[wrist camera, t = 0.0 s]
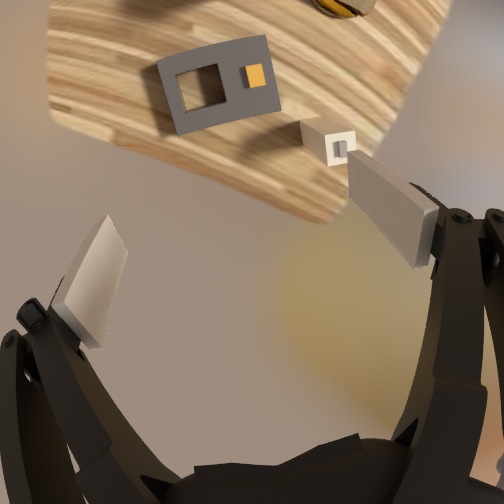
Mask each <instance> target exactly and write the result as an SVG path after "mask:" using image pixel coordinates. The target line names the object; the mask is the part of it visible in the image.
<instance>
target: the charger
mask: <svg viewBox="0 0 504 504" xmlns="http://www.w3.org/2000/svg"><path fill="white" fill-rule="evenodd" d="M299 122H300V128H301V135H302V141H303V146H305V147H306V148H307V149H308V150H309V151H311V152H312V153H313V154H314V155H315V156H316V157H318V158H319V159H320V160H321V161H322V162H323V163H325V164H326V165H327V166H333V165H338V164H343V163H347V151H354V150H356V139H355V131H354V130H352V129H350V128H348V127H346V126H344V125H342V124H340V123H337V122H335V121H333V120H331V119H329V118H326V117H318V118H312V119H305V120H299Z"/></svg>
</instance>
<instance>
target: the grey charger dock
mask: <svg viewBox="0 0 504 504" xmlns="http://www.w3.org/2000/svg"><path fill="white" fill-rule="evenodd" d="M156 63H157V66H158V70H159V73H160V77H161V80H162V84H163V87H164V91H165V94H166V98H167V101H168V104H169V108H170V111H171V114H172V118H173V121H174V124H175V127H176V131H177V134H178V136H181V135H184V134H187V133H190V132H194V131H197V130H201V129H204V128H208V127H212V126H215V125H219V124H223V123H227V122H231V121H235V120H239V119H244V118H248V117H253V116H257V115H262V114H267V113H272V112H277V111H282V110H281V105H280V100H279V95H278V90H277V85H276V80H275V75H274V71H273V66H272V61H271V57H270V52H269V48H268V44H267V39H266V35H259V36H253V37H247V38H241V39H236V40H231V41H226V42H221V43H217V44H213V45H208V46H204V47H200V48H197V49H193V50H189V51H186V52H182V53H179V54H176V55H173V56H169V57H166V58H163V59H160V60H157V61H156ZM215 64H217V66H218V70H219V74H220V78H221V82H222V86H223V90H224V94H225V98H226V101H222V102H218V103H214V104H210V105H206V106H203V107H199V108H196V109H192V110H189V111H187V110H186V107H185V103H184V100H183V96H182V93H181V89H180V85H179V82H178V78H177V75H179V74H182V73H185V72H189V71H192V70H196V69H199V68H203V67H207V66H211V65H215Z"/></svg>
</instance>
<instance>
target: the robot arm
mask: <svg viewBox="0 0 504 504" xmlns="http://www.w3.org/2000/svg"><path fill="white" fill-rule="evenodd" d="M347 163H348V180H349V197H350V198H351V199H352V200H353V201H354V202H355V203H356V204H357V206H358V207H359V208H360V209H361V210H362V211H363V212H364V213H365V214H366V215H367V216H368V217H369V218H370V219H371V220H372V222H373V223H374V224H375V225H376V226H377V227H378V228H379V229H380V230H381V232H382V233H383V234H384V235H385V236H386V237H387V238H388V240H389V241H390V242H391V243H392V244H393V245H394V247H395V248H396V249H397V250H398V251H399V253H400V254H401V255H402V256H403V257H404V259H405V260H406V261H407V262H408V263H409V265H410V266H411V267H412V268H413V270H415V269H418V268H421V267H423V266H426V265H428V262H429V257H430V253H431V254H432V255H433V256H434V257H435V258H436V260H435V264H434V268H433V271H432V275H431V278H430V279H431V280H433V281H432V289H431V297H430V304H429V311H428V317H427V323H426V328H425V333H424V338H423V343H422V348H421V352H420V357H419V361H418V365H417V369H416V373H415V376H414V380H413V384H412V387H411V391H410V394H409V397H408V400H407V403H406V406H405V409H404V412H403V414H402V417H401V418H400V420H399V422H398V424H397V426H396V429H395V431H394V433H393V436H392V438H391V440H390V441H389V440H385V439H377V438H370V439H369V438H366V439H360V437H359V434H358V433H356V434H353V435H351V436H347V437H344V438H341V439H338V440H335V441H332V442H329V443H325V444H322V445H318V446H316V447H314V448H313V449H311V450H309V451H307V452H305V453H303V454H301V455H299V456H297V457H295V458H293V459H291V460H289V461H286V462H284V463H282V464H280V465H276V466H269V465H252V464H240V463H226V464H215V465H203V466H194V474H191V475H189V476H187V477H184V478H183V479H181V478H180V477H179V476H178V475H176V474H175V473H174V472H172V471H171V470H169V469H168V468H167V467H165V466H164V465H163V464H162V463H161V462H160V461H159V460H158V459H157V457H156V456H155V455H154V454H153V453H152V451H151V450H150V449H149V448H148V447H147V445H146V444H145V443H144V442H143V441H142V439H141V438H140V437H139V436H138V434H137V433H136V432H135V431H134V429H133V428H132V427H131V425H130V424H129V422H128V421H127V420H126V418H125V417H124V416H123V414H122V413H121V411H120V410H119V409H118V407H117V406H116V404H115V403H114V401H113V400H112V398H111V397H110V395H109V394H108V392H107V391H106V389H105V388H104V386H103V385H102V383H101V381H100V380H99V378H98V376H97V375H96V373H95V371H94V370H93V368H92V366H91V364H90V363H89V361H88V359H87V357H86V356H85V354H84V352H83V351H82V350H81V349H80V348H79V345H80V342H81V341H82V342H83V343H84V344H85V345H86V346H87V347H88V348H89V349H91V348H98V347H102V344H103V340H104V336H105V332H106V328H107V324H108V320H109V316H110V312H111V309H112V305H113V301H114V298H115V294H116V291H117V287H118V284H119V281H120V278H121V275H122V271H123V268H124V265H125V262H126V259H127V256H128V252H127V250H126V248H125V246H124V244H123V242H122V241H121V239H120V237H119V235H118V233H117V231H116V229H115V227H114V225H113V223H112V221H111V219H110V217H109V215H108V214H107V215H104V216H102V217H99V218H97V219H96V221H95V223H94V224H93V226H92V228H91V229H90V231H89V233H88V234H87V236H86V238H85V240H84V241H83V243H82V245H81V246H80V248H79V250H78V252H77V253H76V255H75V257H74V259H73V261H72V263H71V265H70V267H69V268H68V271H67V272H66V274H65V276H64V277H63V278H62V280H61V282H60V284H59V286H58V288H57V290H56V292H55V294H54V296H53V298H52V301H51V303H50V305H49V307H48V309H47V311H46V310H45V309H44V307H43V306H42V305H41V304H40V302H39V301H38V300H37V299H36V298H31V299H29V300H28V301H26V302H25V303H24V304H23V305H22V306H21V308H20V309H19V311H18V313H17V318H16V319H17V320H18V321H19V323H20V324H21V325H22V326H23V327H24V328H25V329H26V330H27V332H28V333H27V334H25V335H23V336H21V335H20V334H19V333H18V331H17V330H11V331H10V332H8V333H7V334H6V335H5V336H4V338H3V341H2V343H1V347H0V454H1V462H2V468H3V474H4V480H5V485H6V489H7V494H8V498H9V502H10V504H86V502H85V499H84V497H85V498H86V500H87V501H88V503H89V504H504V453H503V455H502V456H501V457H500V458H499V460H498V462H497V466H496V468H497V471H498V472H499V473H501V475H500V479H499V481H498V483H497V485H496V487H495V486H492V485H490V484H487V483H484V482H482V481H479V480H477V479H474V478H472V477H469V475H470V472H471V469H472V466H473V462H474V459H475V455H476V452H477V448H478V444H479V440H480V436H481V431H482V426H483V421H484V416H485V411H486V405H487V393H488V392H487V388H486V387H485V386H483V385H481V369H482V359H483V344H484V305H485V309H486V313H487V317H488V321H489V326H490V330H491V335H492V339H493V345H494V350H495V356H496V362H497V369H498V377H499V387H500V397H501V415H502V430H503V436H504V212H503V211H500V210H499V209H493V208H492V209H488V210H487V211H486V214H485V218H484V219H474V218H473V216H472V215H471V214H470V213H468V212H466V211H465V210H462V209H458V208H452V209H448V208H447V207H446V206H445V205H443V204H442V203H441V202H440V201H438V200H437V199H436V198H434V197H432V195H430V194H429V193H427V192H426V191H425V190H424V189H423V188H421V187H420V186H418V185H415V184H413V183H408V182H407V181H405V180H404V179H402V178H401V177H400V176H398V175H396V174H395V173H394V172H392V171H391V170H390V169H388V168H387V167H385V166H384V165H382V164H381V163H379V162H378V161H376V160H374V159H373V158H372V157H370V156H368V155H367V154H365V153H364V152H362V151H361V150H354V151H347ZM25 374H27V375H28V376H29V377H30V381H29V380H28V379H27V377H26V376H25ZM66 442H67V443H66ZM67 444H68V446H69V448H70V450H71V452H72V454H73V456H74V458H75V460H76V462H77V464H78V465H79V468H80V471H79V472H77V473H76V474H75V471H74V468H73V465H72V462H71V458H70V454H69V451H68V447H67ZM82 493H83V494H82ZM83 495H84V497H83Z"/></svg>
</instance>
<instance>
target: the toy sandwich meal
mask: <svg viewBox="0 0 504 504" xmlns="http://www.w3.org/2000/svg"><path fill="white" fill-rule="evenodd" d="M312 1H313V2H314V3H315V5H316V6H317V7H318V8H320V9H321V10H322V11H324V12H325V13H327V14H329V15H331V16H334V17H337V18H353V17H355V16H357V15H360V16H361V17H363V16H365V15H367V14H368V13H369V12H370V11H371V10H372V9H373V8H374V6H375V3H376V0H312Z"/></svg>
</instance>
